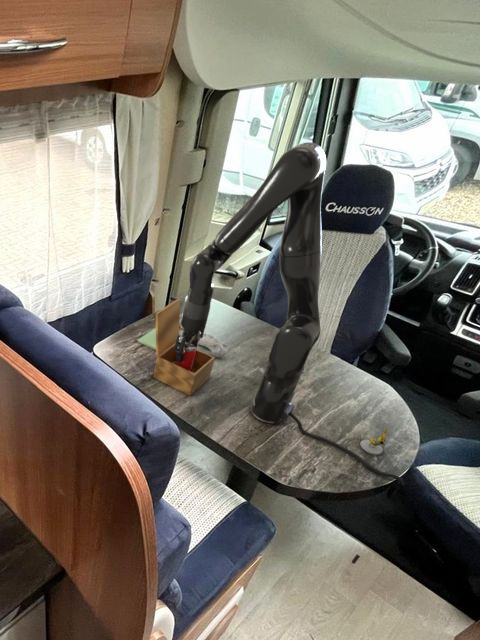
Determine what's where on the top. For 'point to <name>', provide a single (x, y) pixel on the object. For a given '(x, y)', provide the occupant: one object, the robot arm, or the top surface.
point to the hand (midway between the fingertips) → (185, 355)
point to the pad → (149, 339)
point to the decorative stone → (214, 345)
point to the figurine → (374, 444)
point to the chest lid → (167, 326)
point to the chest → (183, 371)
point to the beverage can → (188, 358)
